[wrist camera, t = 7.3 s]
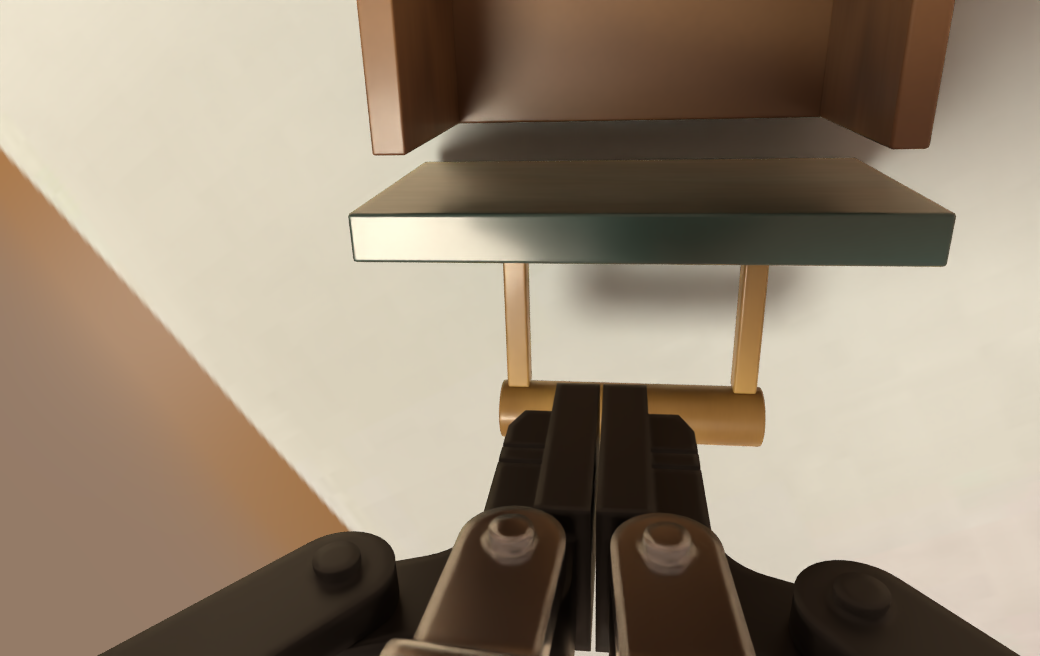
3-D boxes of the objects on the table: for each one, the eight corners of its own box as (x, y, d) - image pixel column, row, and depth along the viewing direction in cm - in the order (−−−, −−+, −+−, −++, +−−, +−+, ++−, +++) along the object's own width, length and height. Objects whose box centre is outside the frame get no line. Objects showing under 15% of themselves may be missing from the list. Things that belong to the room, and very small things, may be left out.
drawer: (827, 361, 25) (904, 486, 18) (439, 352, 26) (376, 462, 20) (937, -421, 17) (1140, -711, 10) (382, -362, 19) (249, -576, 12)
